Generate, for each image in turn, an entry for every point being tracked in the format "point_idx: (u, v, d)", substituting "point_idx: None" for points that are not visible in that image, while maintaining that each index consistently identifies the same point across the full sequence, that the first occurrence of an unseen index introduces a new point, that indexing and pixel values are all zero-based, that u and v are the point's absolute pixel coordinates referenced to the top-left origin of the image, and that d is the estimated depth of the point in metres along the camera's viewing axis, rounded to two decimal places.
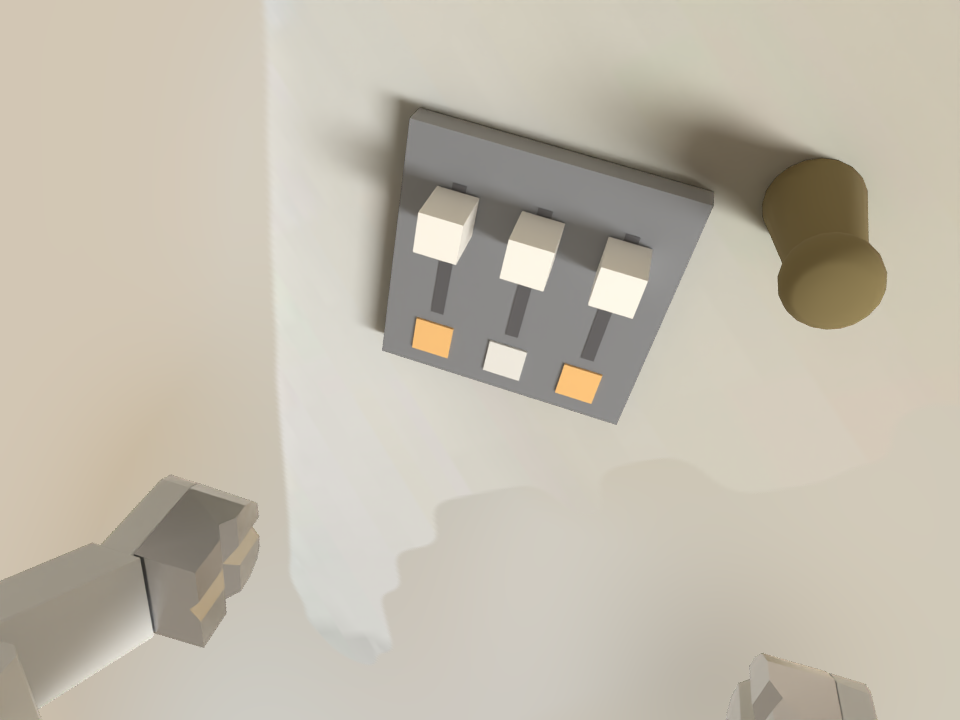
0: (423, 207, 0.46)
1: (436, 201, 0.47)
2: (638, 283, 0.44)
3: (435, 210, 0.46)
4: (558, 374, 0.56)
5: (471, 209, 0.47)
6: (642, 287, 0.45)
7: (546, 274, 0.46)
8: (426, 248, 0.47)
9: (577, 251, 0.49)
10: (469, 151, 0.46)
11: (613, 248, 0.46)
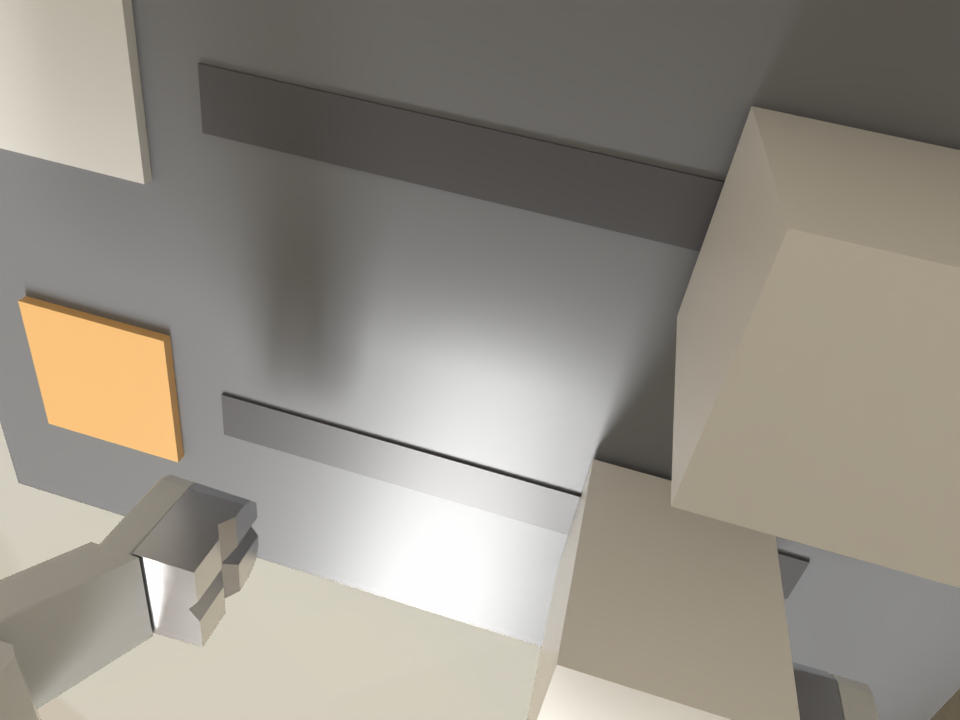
0: None
1: None
2: None
3: None
4: (106, 309, 0.13)
5: None
6: None
7: (811, 536, 0.07)
8: None
9: None
10: None
11: None
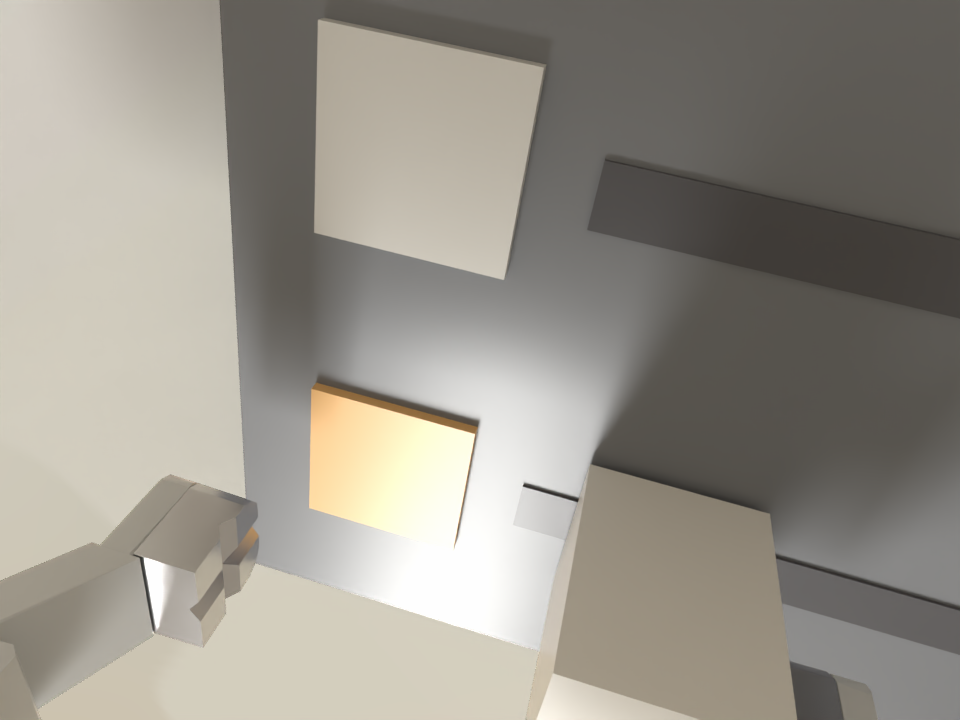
0: None
1: None
2: None
3: None
4: (409, 399, 0.12)
5: None
6: None
7: None
8: None
9: None
10: None
11: None
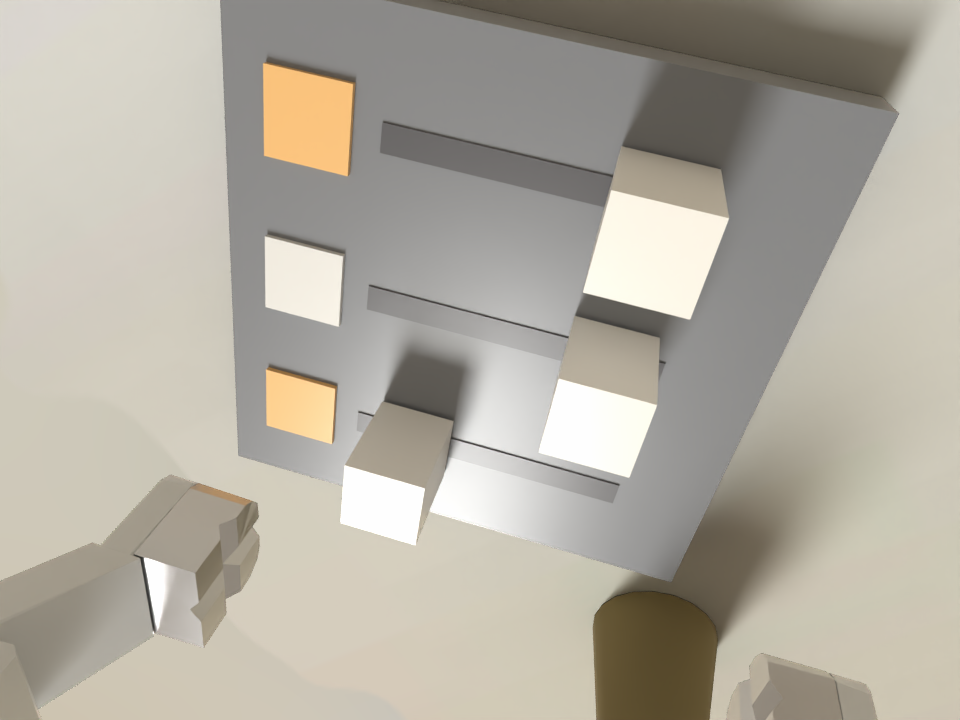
0: None
1: None
2: (408, 533, 0.27)
3: None
4: (308, 373, 0.29)
5: None
6: (402, 538, 0.27)
7: (579, 460, 0.23)
8: (623, 227, 0.19)
9: None
10: (796, 245, 0.22)
11: (443, 451, 0.28)
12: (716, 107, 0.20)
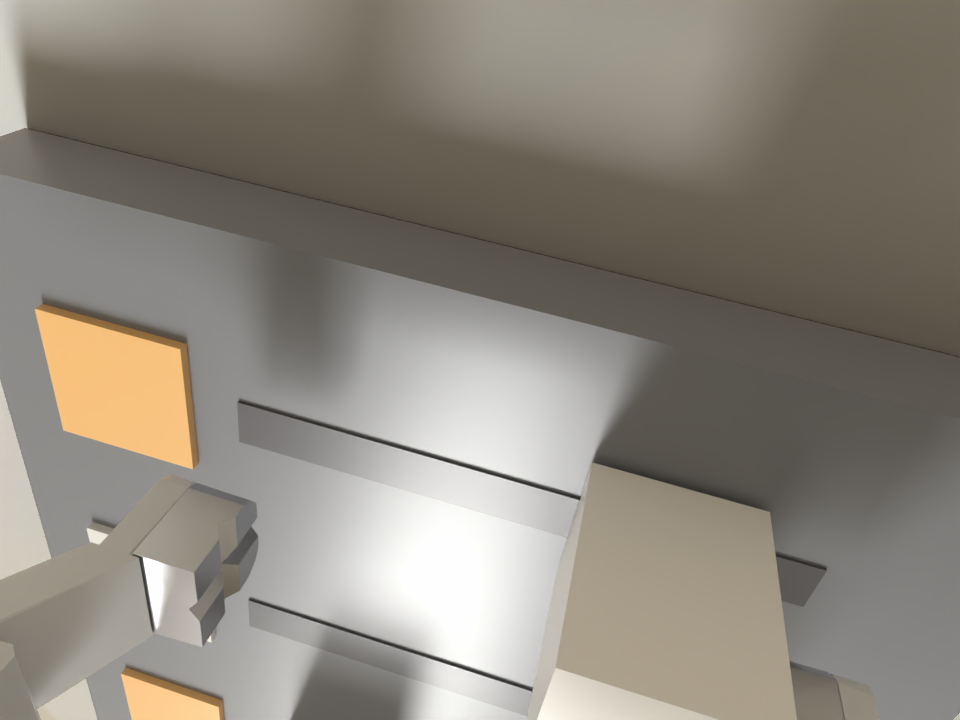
0: (790, 694, 0.09)
1: None
2: None
3: None
4: (180, 682, 0.20)
5: None
6: None
7: None
8: (584, 719, 0.09)
9: None
10: (951, 637, 0.12)
11: None
12: (818, 434, 0.11)
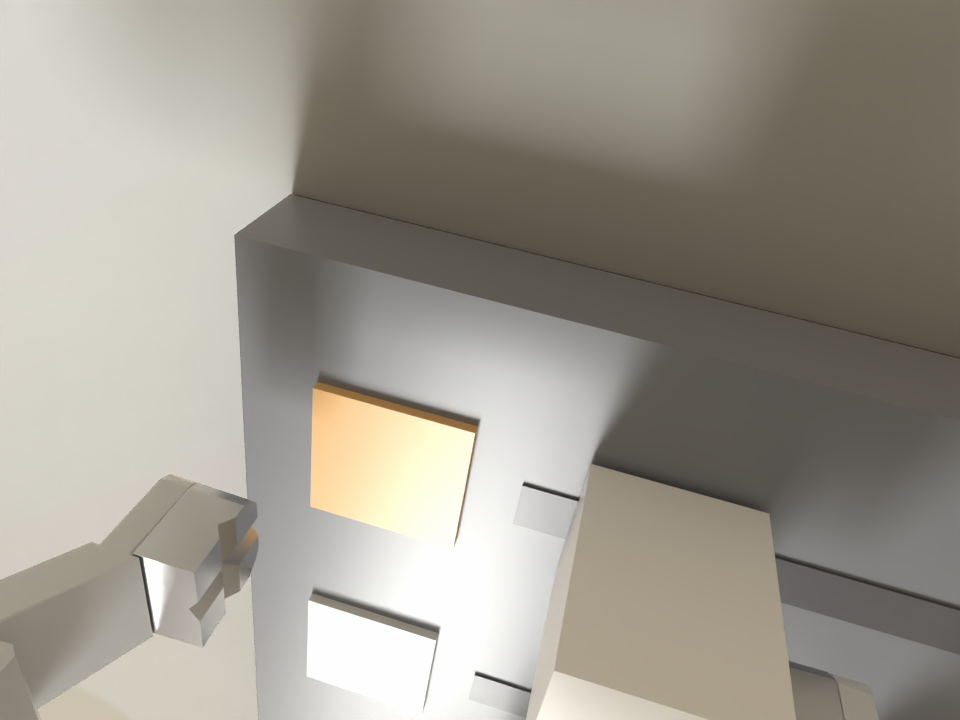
0: None
1: None
2: None
3: None
4: None
5: None
6: None
7: None
8: None
9: None
10: None
11: None
12: None
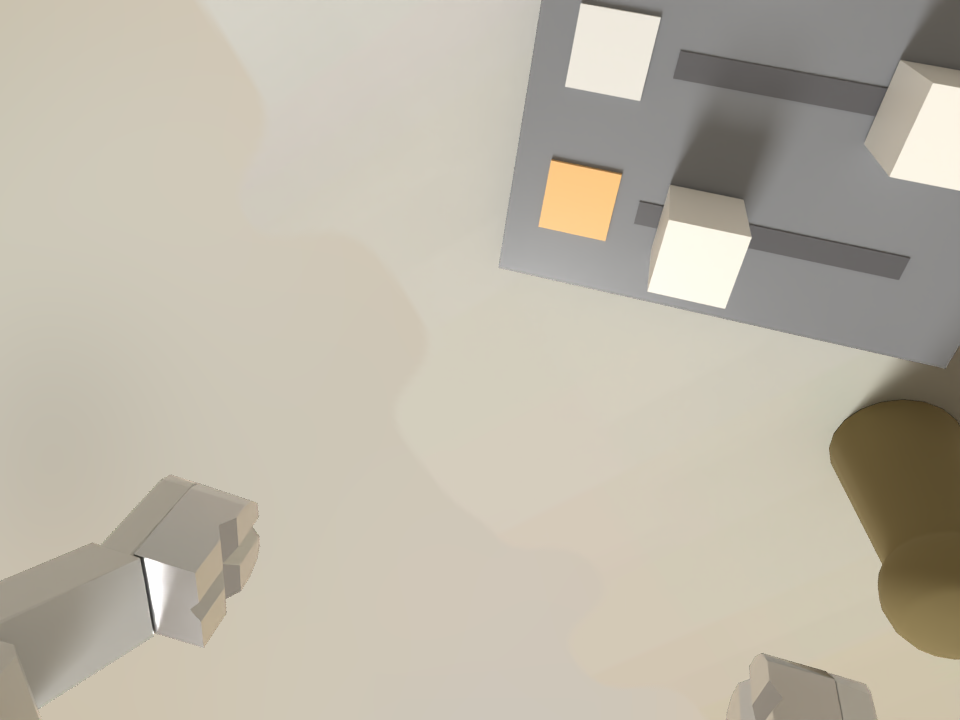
0: None
1: None
2: (720, 295, 0.27)
3: None
4: (593, 162, 0.30)
5: None
6: (712, 301, 0.27)
7: (932, 181, 0.23)
8: None
9: (879, 181, 0.28)
10: None
11: None
12: None
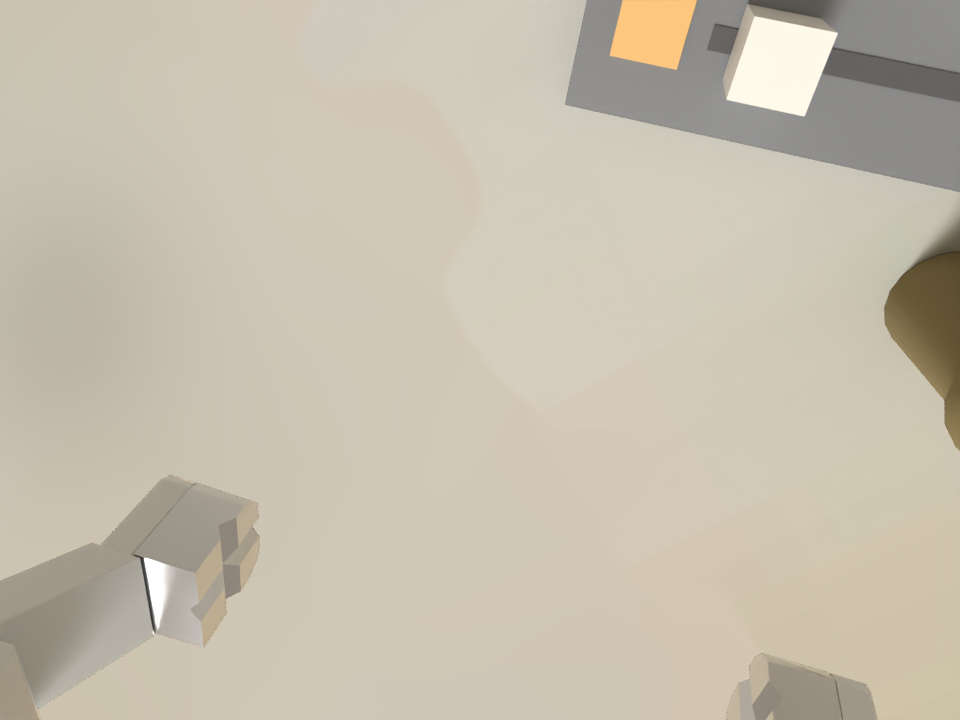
0: None
1: None
2: (801, 101, 0.27)
3: None
4: None
5: None
6: (791, 109, 0.27)
7: None
8: None
9: None
10: None
11: None
12: None
